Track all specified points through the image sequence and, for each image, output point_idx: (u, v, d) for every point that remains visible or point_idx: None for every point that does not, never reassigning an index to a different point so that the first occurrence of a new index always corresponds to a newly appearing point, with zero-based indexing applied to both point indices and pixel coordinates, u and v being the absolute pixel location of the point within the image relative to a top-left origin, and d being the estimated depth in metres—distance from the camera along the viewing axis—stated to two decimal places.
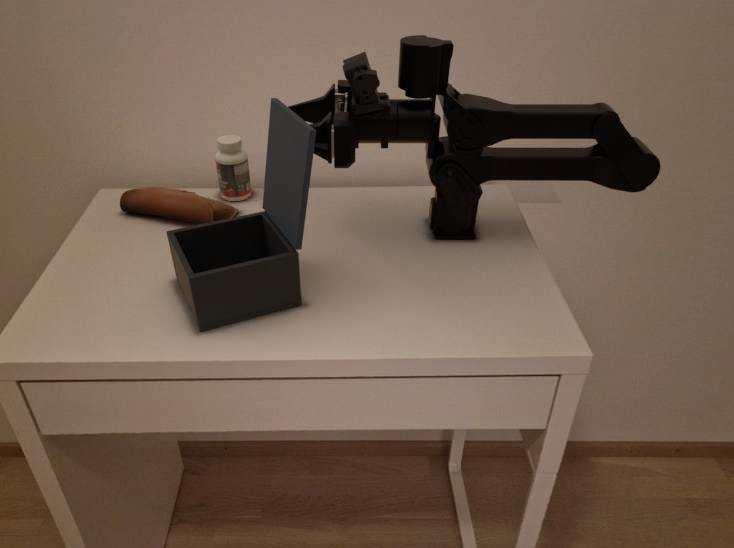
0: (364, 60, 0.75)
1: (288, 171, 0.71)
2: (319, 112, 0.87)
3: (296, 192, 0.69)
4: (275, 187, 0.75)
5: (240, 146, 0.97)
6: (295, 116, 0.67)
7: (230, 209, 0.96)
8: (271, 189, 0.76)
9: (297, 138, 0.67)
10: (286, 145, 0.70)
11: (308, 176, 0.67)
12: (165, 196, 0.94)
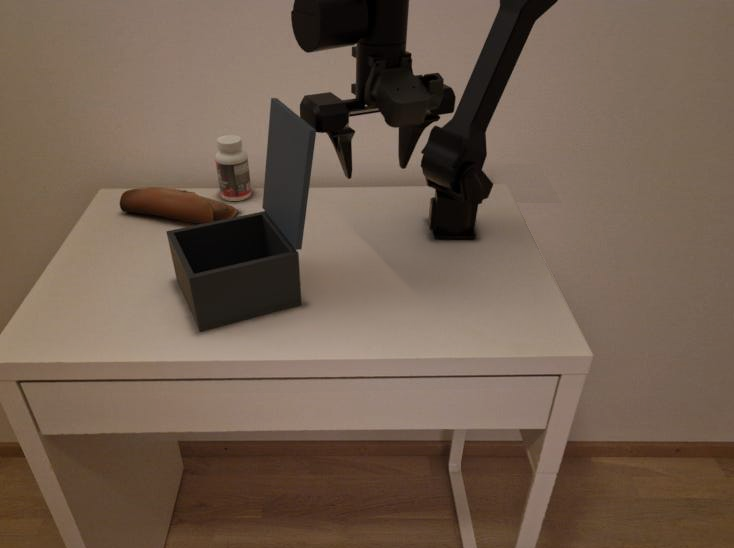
0: (430, 99, 0.65)
1: (288, 171, 0.71)
2: None
3: (296, 192, 0.69)
4: (275, 187, 0.75)
5: (240, 146, 0.97)
6: (295, 116, 0.67)
7: (230, 209, 0.96)
8: (271, 189, 0.76)
9: (297, 138, 0.67)
10: (286, 145, 0.70)
11: (308, 176, 0.67)
12: (165, 195, 0.94)
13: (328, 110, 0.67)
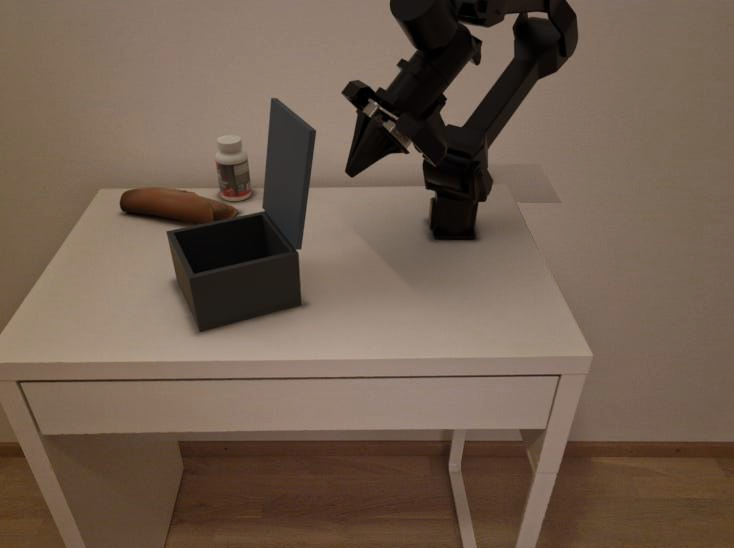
0: None
1: (288, 171, 0.71)
2: None
3: (296, 192, 0.69)
4: (275, 187, 0.75)
5: (240, 146, 0.97)
6: (295, 116, 0.67)
7: (230, 209, 0.96)
8: (271, 189, 0.76)
9: (297, 138, 0.67)
10: (286, 145, 0.70)
11: (308, 176, 0.67)
12: (165, 195, 0.94)
13: None
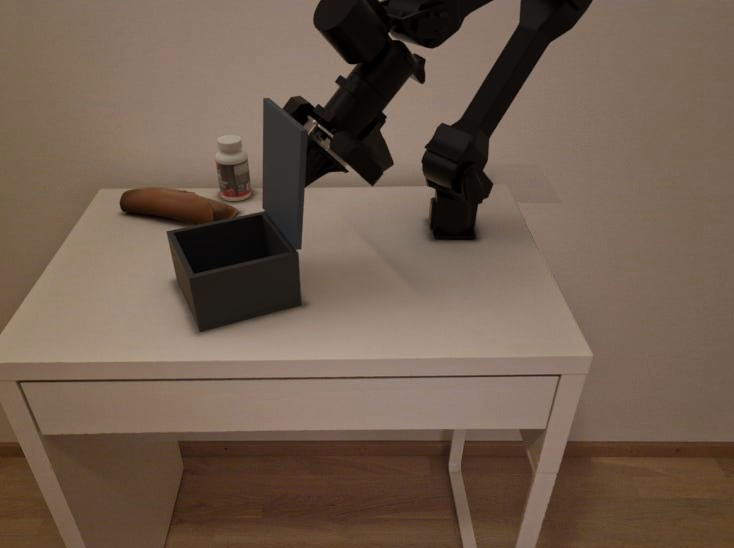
0: None
1: (284, 171, 0.70)
2: None
3: (292, 192, 0.69)
4: (273, 187, 0.75)
5: (240, 146, 0.97)
6: (287, 116, 0.67)
7: (230, 209, 0.96)
8: (269, 190, 0.76)
9: (290, 139, 0.67)
10: (280, 146, 0.70)
11: (302, 176, 0.66)
12: (165, 196, 0.94)
13: None
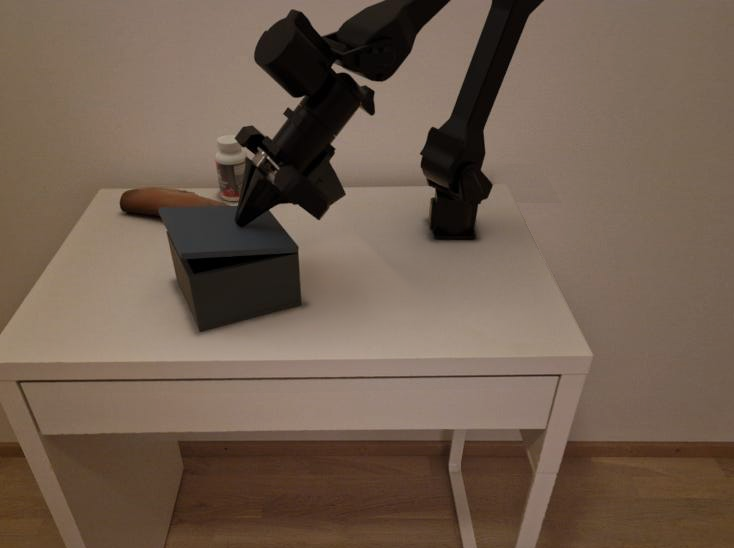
0: None
1: None
2: None
3: None
4: None
5: (240, 146, 0.97)
6: (171, 237, 0.70)
7: None
8: None
9: None
10: None
11: (225, 253, 0.68)
12: (165, 196, 0.94)
13: None
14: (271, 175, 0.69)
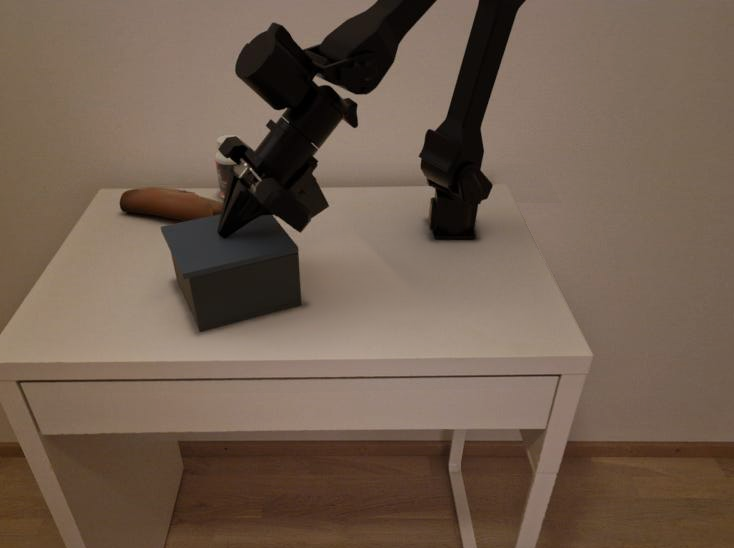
0: None
1: None
2: None
3: None
4: None
5: None
6: (173, 257, 0.71)
7: None
8: None
9: None
10: None
11: (225, 266, 0.69)
12: (165, 196, 0.94)
13: None
14: (253, 187, 0.69)
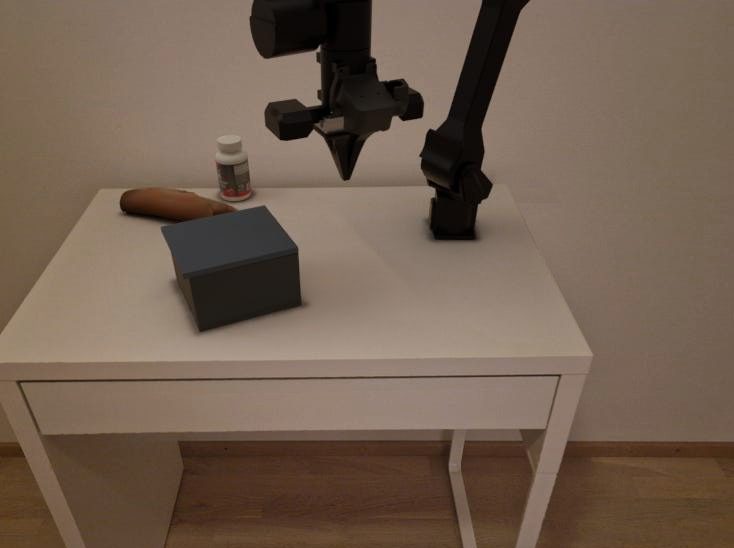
0: (394, 106, 0.64)
1: None
2: None
3: None
4: None
5: (240, 146, 0.97)
6: (173, 257, 0.71)
7: (230, 210, 0.96)
8: None
9: None
10: None
11: (225, 266, 0.69)
12: (164, 196, 0.94)
13: (292, 118, 0.66)
14: None
